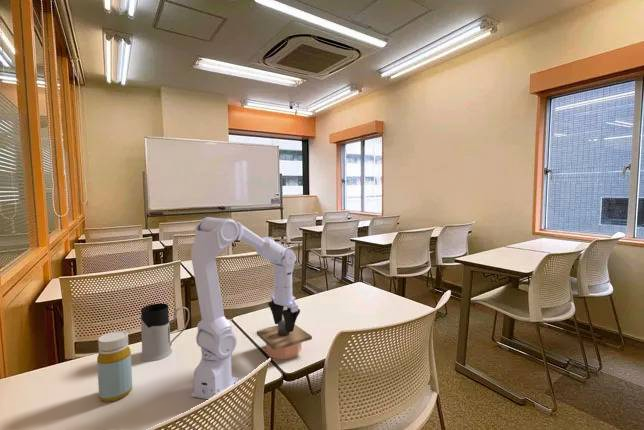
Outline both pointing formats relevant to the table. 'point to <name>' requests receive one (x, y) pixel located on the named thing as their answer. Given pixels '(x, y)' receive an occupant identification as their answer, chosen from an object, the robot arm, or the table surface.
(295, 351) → the bowl
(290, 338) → the lid
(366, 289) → the table surface
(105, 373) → the bottle
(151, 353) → the glass holder
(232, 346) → the robot arm
